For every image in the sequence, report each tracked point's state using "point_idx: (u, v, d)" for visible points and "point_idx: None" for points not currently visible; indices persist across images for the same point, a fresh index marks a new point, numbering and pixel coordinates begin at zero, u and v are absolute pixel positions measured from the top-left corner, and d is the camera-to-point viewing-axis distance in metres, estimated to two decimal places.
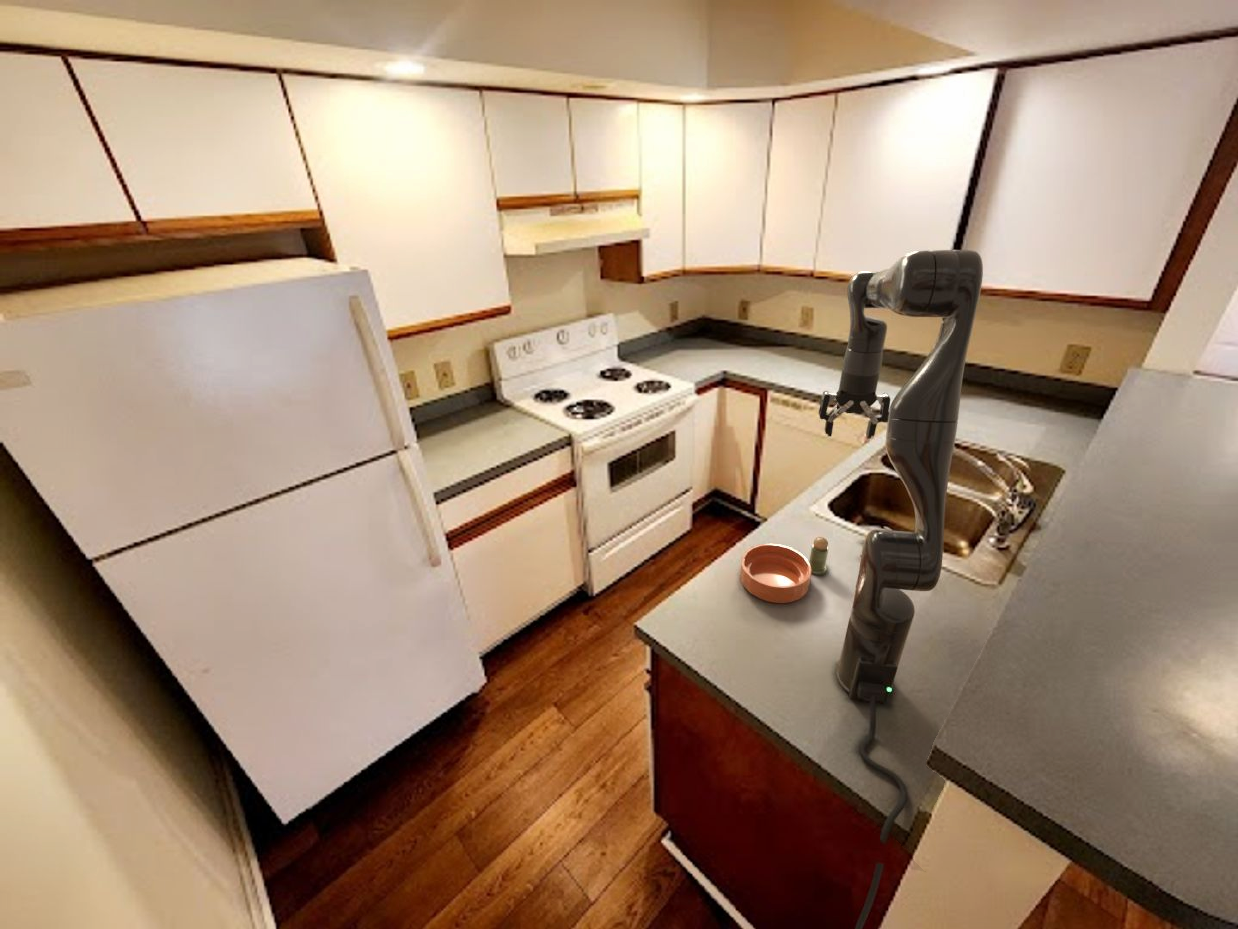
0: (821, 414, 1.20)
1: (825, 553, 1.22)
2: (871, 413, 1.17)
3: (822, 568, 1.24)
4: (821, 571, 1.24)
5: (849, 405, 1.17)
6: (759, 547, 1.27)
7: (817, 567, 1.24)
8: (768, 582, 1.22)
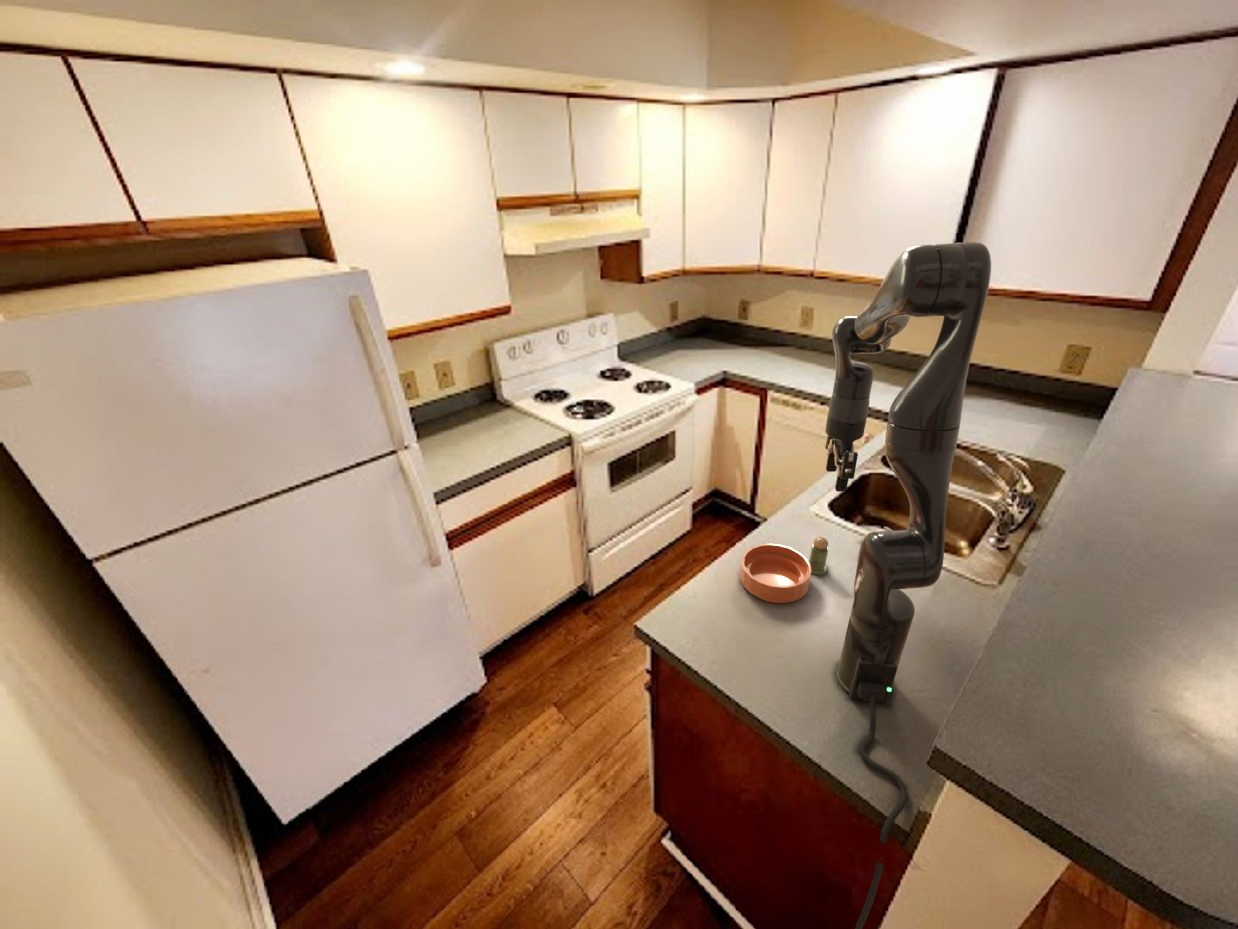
0: (826, 444, 1.21)
1: (825, 553, 1.22)
2: (835, 462, 1.12)
3: (822, 568, 1.24)
4: (821, 571, 1.24)
5: (830, 444, 1.15)
6: (759, 547, 1.27)
7: (817, 567, 1.24)
8: (768, 582, 1.22)
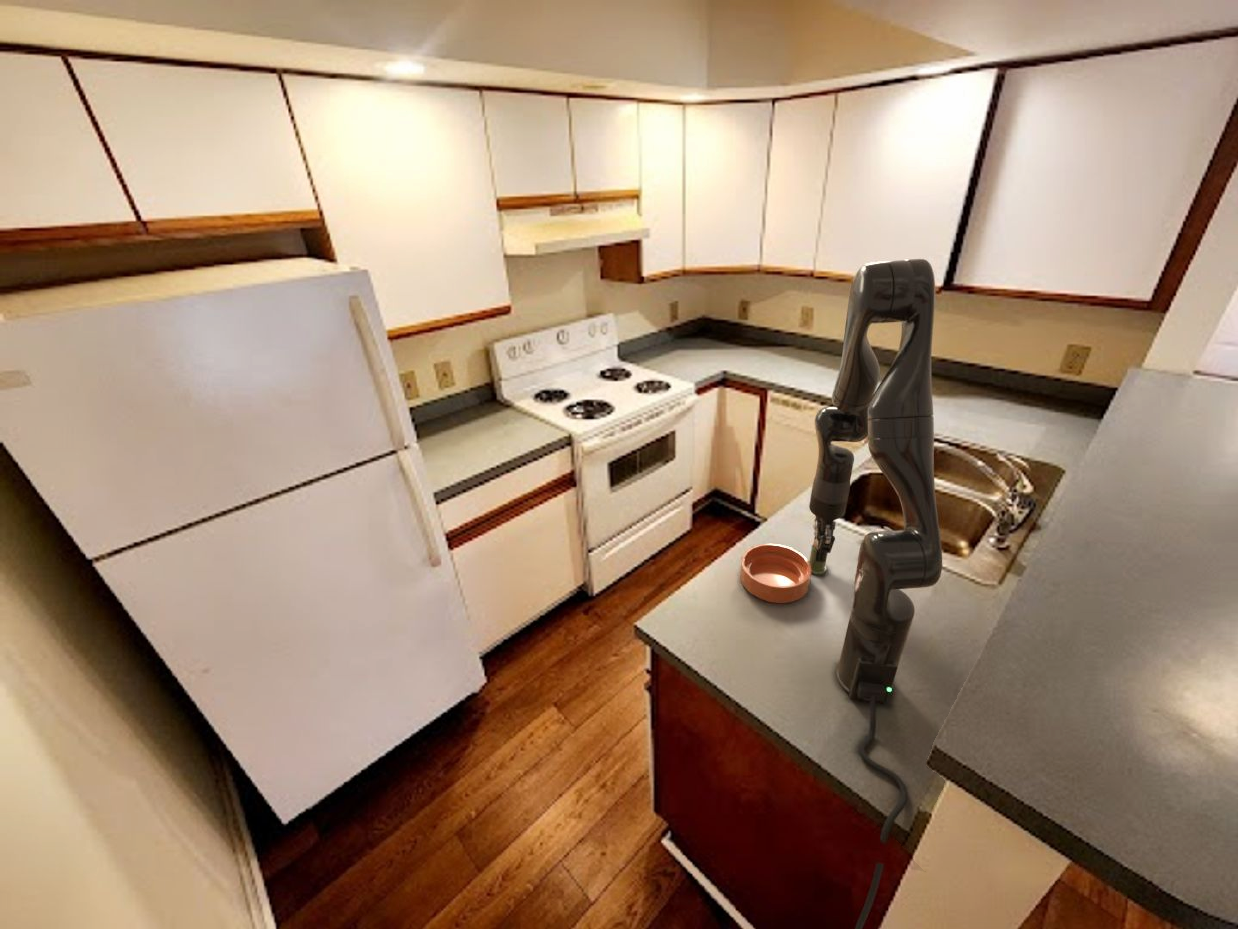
0: None
1: None
2: (816, 536, 1.19)
3: (822, 568, 1.24)
4: (821, 571, 1.24)
5: None
6: (759, 547, 1.27)
7: (817, 567, 1.24)
8: (768, 582, 1.22)
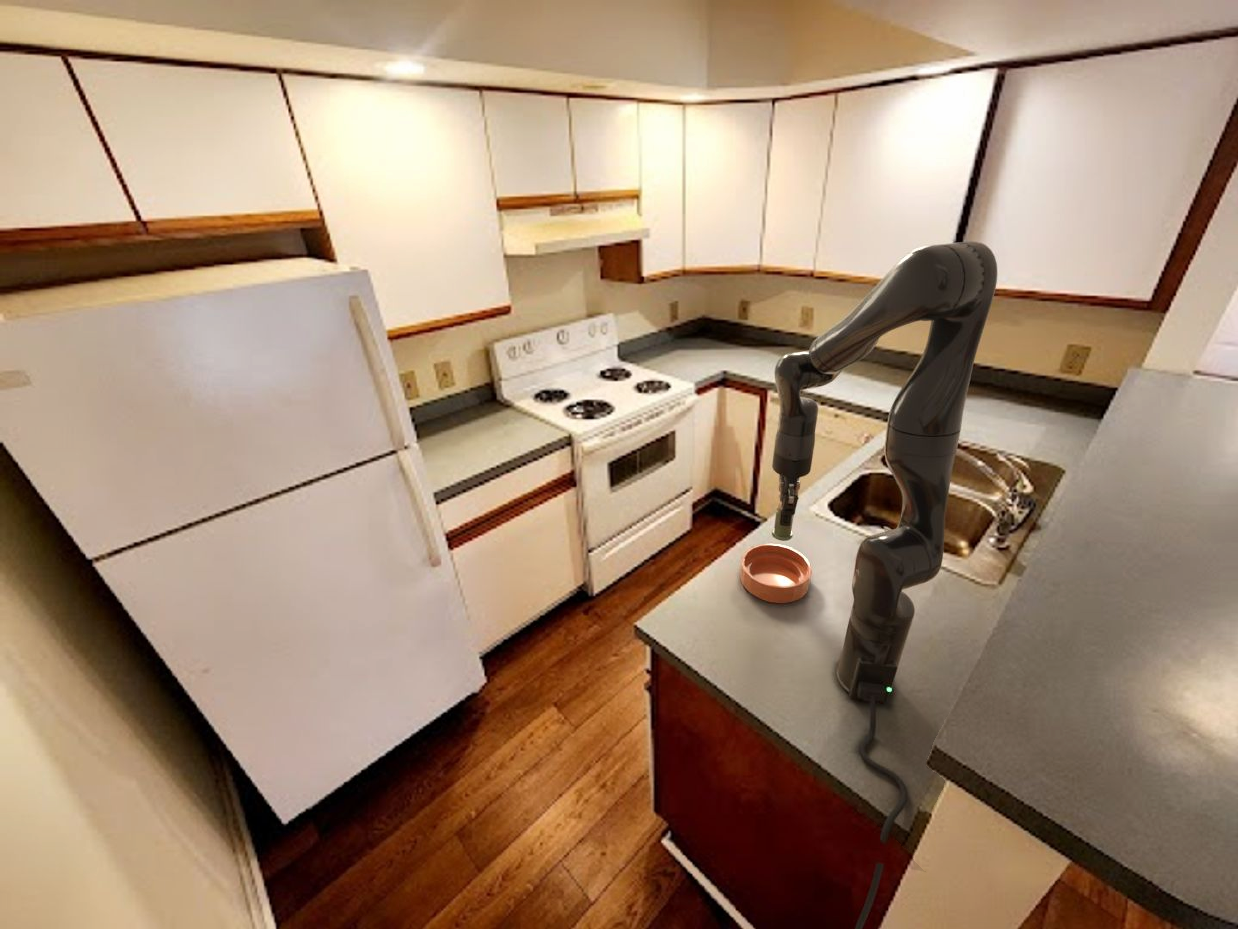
0: None
1: None
2: None
3: (788, 533, 1.15)
4: (786, 537, 1.15)
5: (779, 478, 1.12)
6: (759, 547, 1.27)
7: (782, 532, 1.14)
8: (768, 582, 1.22)
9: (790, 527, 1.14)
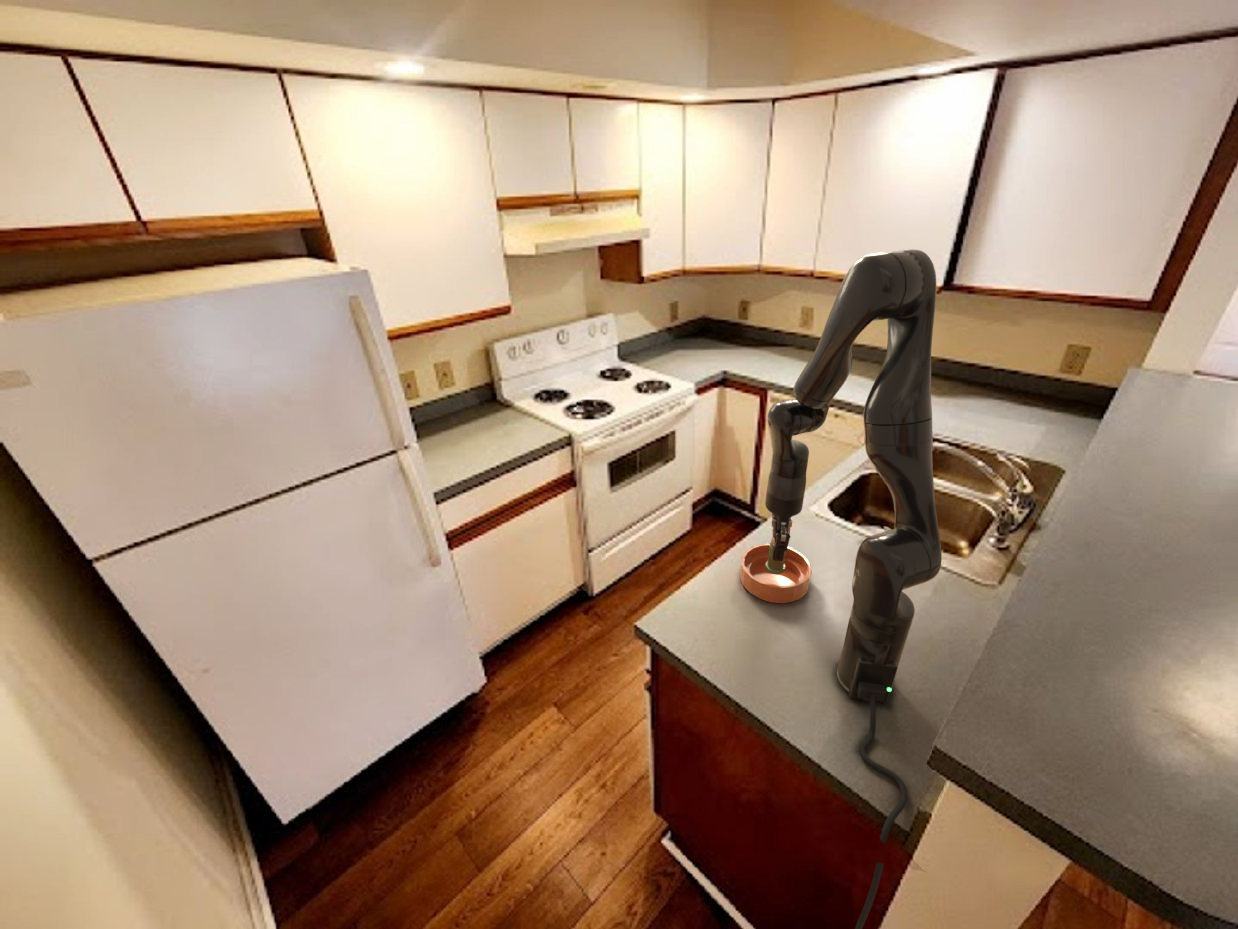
0: None
1: None
2: (772, 534, 1.14)
3: (780, 567, 1.19)
4: (779, 570, 1.19)
5: (772, 515, 1.16)
6: (759, 547, 1.27)
7: (775, 566, 1.19)
8: (768, 582, 1.22)
9: (783, 561, 1.19)
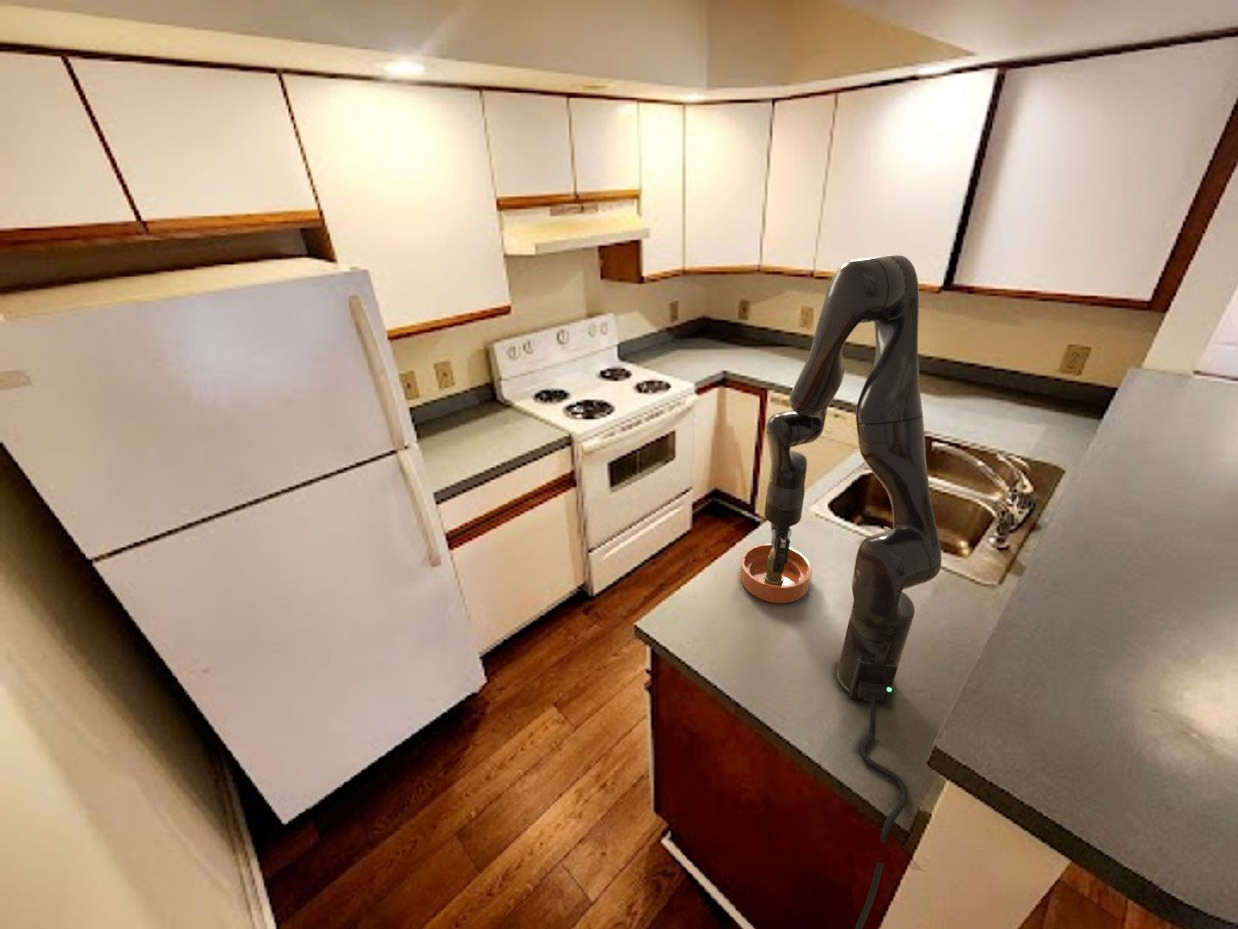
0: None
1: None
2: (772, 544, 1.14)
3: (779, 578, 1.21)
4: (778, 581, 1.21)
5: (771, 524, 1.17)
6: (759, 547, 1.27)
7: (774, 577, 1.20)
8: None
9: (781, 573, 1.20)
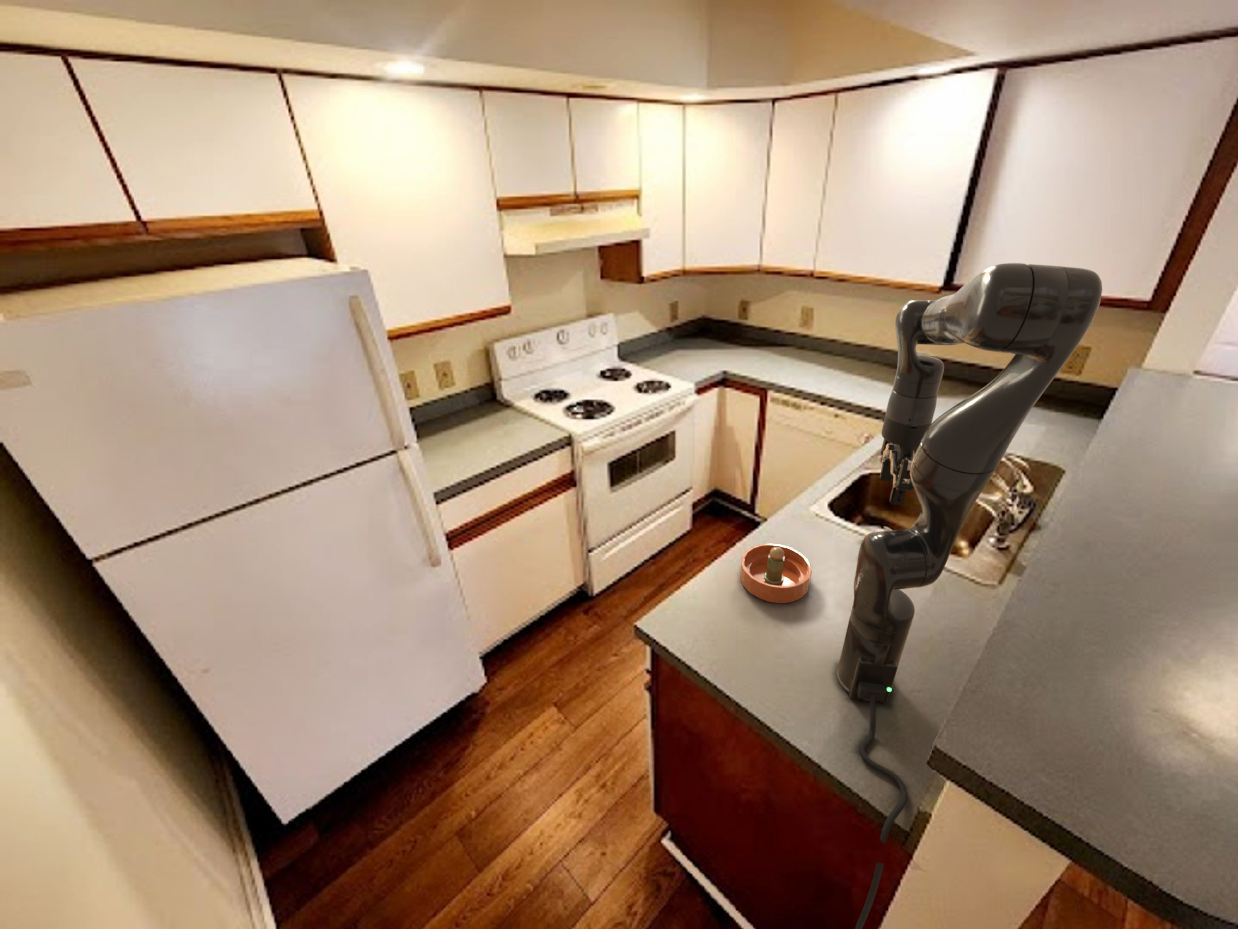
0: (881, 449, 1.06)
1: (781, 563, 1.19)
2: (892, 470, 0.97)
3: (779, 578, 1.21)
4: (778, 581, 1.21)
5: (886, 449, 1.00)
6: (759, 547, 1.27)
7: (774, 577, 1.20)
8: None
9: (781, 573, 1.20)
